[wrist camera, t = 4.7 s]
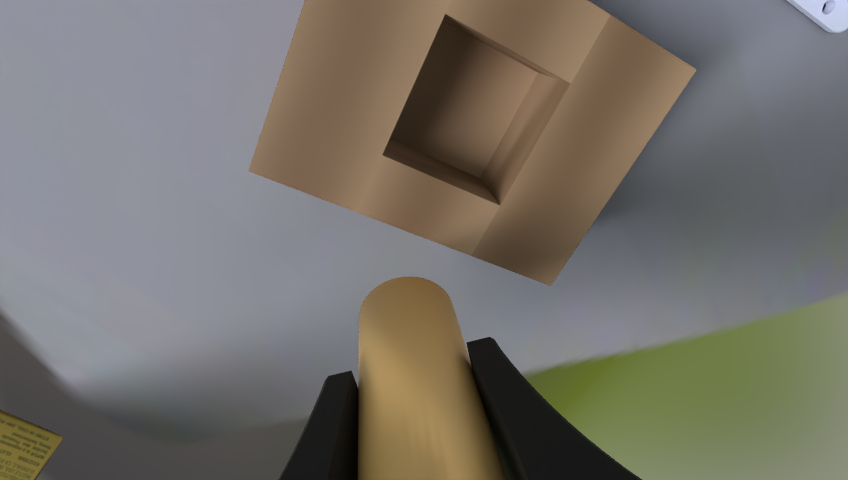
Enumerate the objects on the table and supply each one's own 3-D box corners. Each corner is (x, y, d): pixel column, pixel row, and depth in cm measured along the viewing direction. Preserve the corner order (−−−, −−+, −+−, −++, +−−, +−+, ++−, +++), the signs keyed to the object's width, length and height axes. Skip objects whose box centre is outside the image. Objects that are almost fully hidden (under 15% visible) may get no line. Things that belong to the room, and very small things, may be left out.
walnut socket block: (631, 58, 18) (696, 69, 15) (519, 241, 21) (550, 285, 18) (355, -110, 15) (354, -149, 11) (270, 139, 18) (248, 171, 14)
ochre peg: (470, 296, 14) (579, 582, 7) (425, 364, 15) (481, 672, 8) (385, 262, 13) (412, 553, 6) (343, 337, 14) (325, 659, 7)
